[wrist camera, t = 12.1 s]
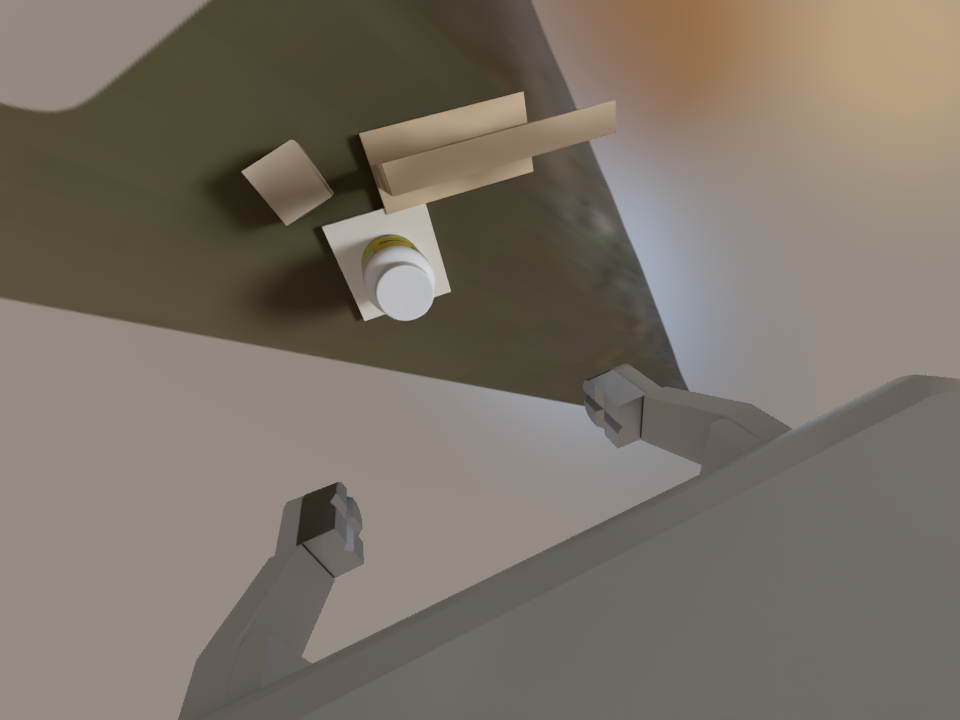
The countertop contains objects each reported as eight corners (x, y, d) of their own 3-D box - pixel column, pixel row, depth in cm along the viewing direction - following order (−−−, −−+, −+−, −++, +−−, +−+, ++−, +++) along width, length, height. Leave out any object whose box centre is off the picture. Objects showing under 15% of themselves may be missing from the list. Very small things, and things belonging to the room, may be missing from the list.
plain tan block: (254, 171, 27) (241, 171, 23) (298, 143, 27) (291, 139, 23) (295, 221, 29) (288, 227, 26) (335, 194, 29) (333, 198, 26)
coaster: (322, 225, 30) (321, 226, 29) (422, 196, 31) (423, 196, 30) (364, 318, 34) (364, 321, 34) (449, 289, 36) (450, 291, 35)
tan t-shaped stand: (358, 134, 27) (364, 112, 17) (518, 93, 30) (615, 50, 19) (386, 213, 31) (406, 237, 20) (528, 171, 33) (616, 172, 22)
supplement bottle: (430, 248, 32) (456, 274, 24) (408, 299, 34) (426, 340, 26) (373, 221, 30) (382, 241, 22) (352, 278, 32) (353, 317, 23)
